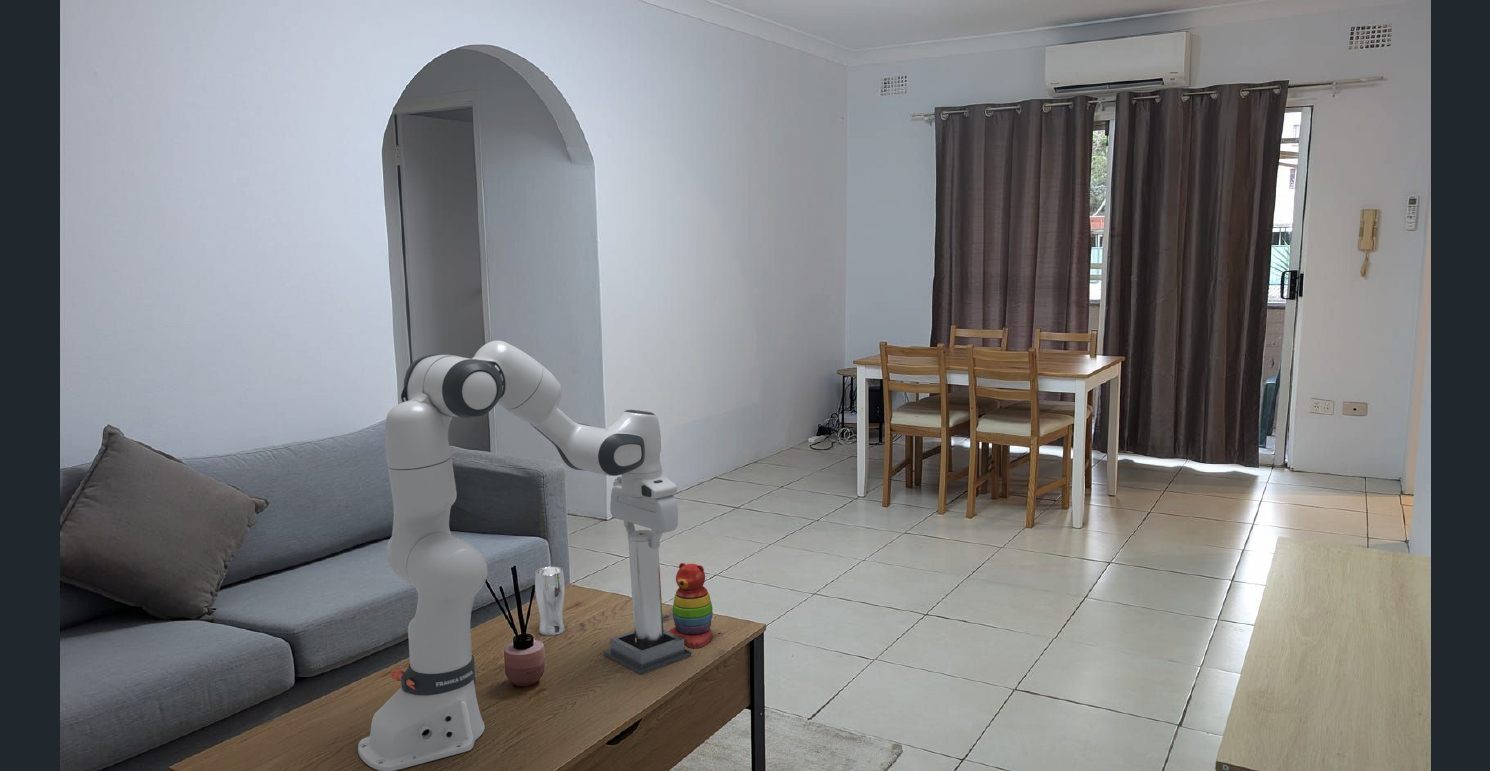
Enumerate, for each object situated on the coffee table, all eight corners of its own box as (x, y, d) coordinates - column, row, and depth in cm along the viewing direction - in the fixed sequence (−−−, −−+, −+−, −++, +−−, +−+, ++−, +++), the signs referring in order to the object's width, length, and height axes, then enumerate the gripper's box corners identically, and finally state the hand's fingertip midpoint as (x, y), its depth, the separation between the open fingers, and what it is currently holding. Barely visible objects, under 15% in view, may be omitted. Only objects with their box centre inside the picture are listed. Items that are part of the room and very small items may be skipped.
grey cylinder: (659, 646, 214) (653, 537, 210) (631, 645, 215) (624, 537, 211) (667, 634, 220) (660, 528, 216) (639, 633, 221) (632, 528, 218)
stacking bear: (660, 640, 227) (658, 566, 224) (687, 626, 235) (685, 555, 232) (697, 650, 220) (695, 574, 218) (723, 635, 229) (721, 562, 226)
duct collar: (640, 674, 208) (639, 656, 207) (603, 655, 218) (603, 638, 218) (691, 656, 217) (690, 639, 217) (654, 638, 227) (653, 622, 227)
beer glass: (535, 627, 236) (533, 568, 234) (564, 623, 238) (562, 564, 236) (538, 638, 229) (535, 576, 227) (568, 634, 231) (565, 573, 229)
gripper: (602, 477, 218) (604, 537, 220) (658, 492, 203) (660, 556, 205) (625, 473, 222) (627, 531, 224) (682, 487, 207) (683, 550, 209)
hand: (643, 543), depth 214 cm, fingers closed on grey cylinder, 6 cm apart
